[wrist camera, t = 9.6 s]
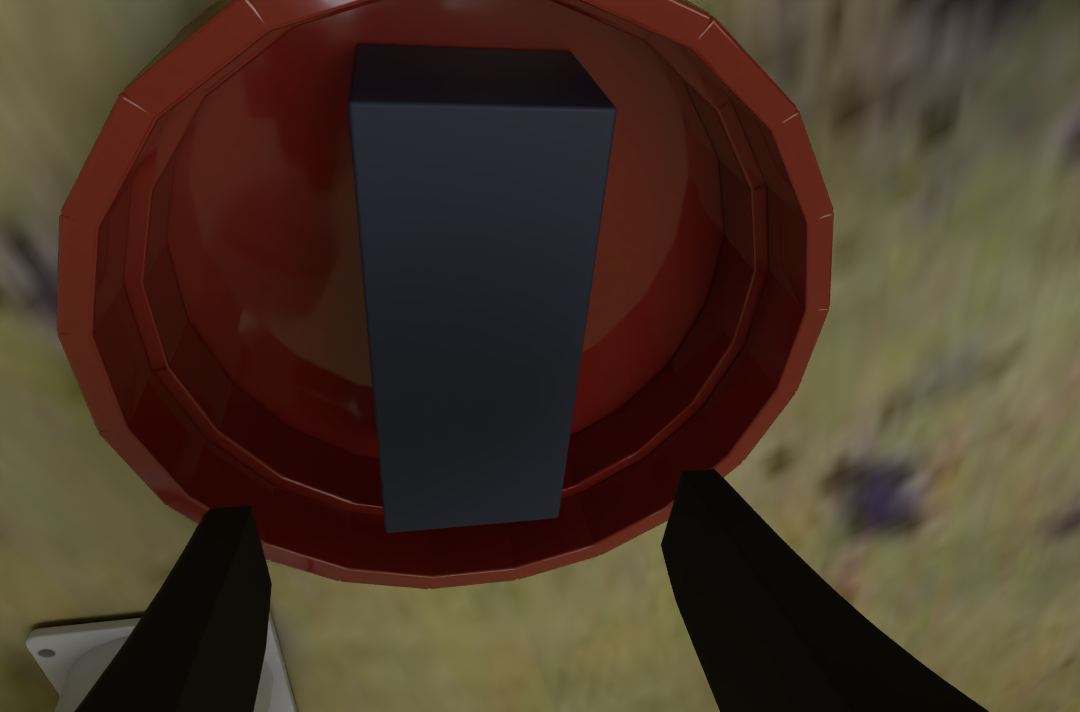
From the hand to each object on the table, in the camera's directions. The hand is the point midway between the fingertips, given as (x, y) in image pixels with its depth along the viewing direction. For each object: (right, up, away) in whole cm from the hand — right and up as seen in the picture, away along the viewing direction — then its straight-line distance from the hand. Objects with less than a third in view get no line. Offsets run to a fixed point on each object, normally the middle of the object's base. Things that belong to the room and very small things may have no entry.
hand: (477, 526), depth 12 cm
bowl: (-1, +5, +7) cm, 9 cm away
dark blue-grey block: (-1, +5, +6) cm, 8 cm away
